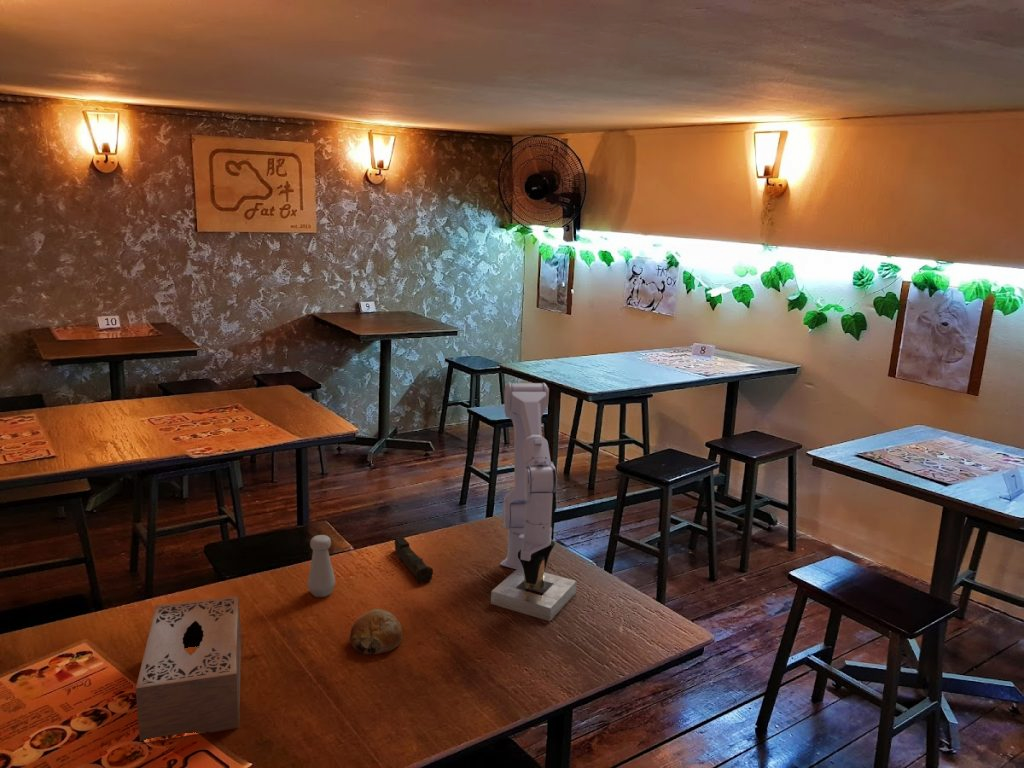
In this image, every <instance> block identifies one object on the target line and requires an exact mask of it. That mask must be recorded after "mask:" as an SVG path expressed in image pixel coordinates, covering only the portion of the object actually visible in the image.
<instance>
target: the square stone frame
mask: <svg viewBox="0 0 1024 768" xmlns="http://www.w3.org/2000/svg"><path fill="white" fill-rule="evenodd" d="M527 590H528V589H527V588H526V587H525V586H524V569H523V567H522V566H520V567H519V568H518V569H514V571H513V572H512V573H511V574H509V575H508V576H507V577H506V578H504V580H502V582H500V583H499V584H497V586H496V587H494V588H493V589H492V590H491V593H490V595H491V596H490V604H491V605H494V606H497V607H500V608H504V609H507V610H510V611H514V612H516V613H517V612H518V613H519V614H520V613H521V614H524V615H527V616H530V617H534V618H538V619H540V620H544V621H548V622H551V621H552V620H553V619H554V617H555V616H556V615H558V613H559V612H560V611H561V610H562V609H563V608H564V607H565V606H566V604H568V602H569V601H570V600H571V599H572V598H573V597H574V596H575V595H576V593H577V580H574V579H570V578H567V577H563V576H561V575H560V576H559V575H556V574H552V573H549V572H546V571H544V587H543V588H541V589H538V590H533V591H534V592H537V593H538V592H539V593H542V595H540V594H537V593H534V592H533V593H532V592H530V591H527ZM529 590H531V589H529ZM531 591H532V590H531Z"/></svg>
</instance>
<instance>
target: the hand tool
mask: <svg viewBox="0 0 1024 768" xmlns="http://www.w3.org/2000/svg"><path fill="white" fill-rule="evenodd" d="M394 549H395V554H396V556H397V558H398V560H399V561H402V562H403V563H404V565H405V566H406V567H407V568H408V570H409V571H410V573H412V574H413V575H414V576H415V578H416V580H415V581H416V583H417V584H425V583H428V582H430V581H432V579H433V574H434V570H433V567H431V566H428V565H427V564H426V563H425V562H424V560H423V557H422V558H421V557H419V556H418V555H417V554H416V553H415V551H413V549H412V547H410V543H409V542H408V541H407V540H406V539H405V538H404V537H403V536H400V535H399V536H396V537H395V538H394ZM424 582H425V583H424Z"/></svg>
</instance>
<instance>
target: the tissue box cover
mask: <svg viewBox="0 0 1024 768" xmlns="http://www.w3.org/2000/svg"><path fill="white" fill-rule="evenodd" d="M240 604H241V603H240V595H235V596H228V597H227V596H226V597H216V598H209V599H201V600H200V599H199V600H191V601H190V600H189V601H185V602H184V601H183V602H175V603H174V602H173V603H168V604H166V603H165V604H158V605H157V604H156V605H155V607H154V610H153V615H152V619H151V622H150V627H149V633H148V637H147V640H146V642H145V643H146V645H145V649H144V652H143V657H142V661H141V665H140V668H139V669H140V670H139V674H138V678H137V681H136V685H135V695H136V698H135V699H136V707H137V708H136V709H137V710H136V711H137V720H138V721H137V722H138V735H139V742H140V741H142V740H146V739H151V738H155V737H162V736H168V735H175V734H180V733H181V734H182V733H193V732H194V733H195V732H196V733H199V732H200V733H201V732H202V733H203V732H209V733H215V732H220V731H221V732H222V731H226V730H227V731H228V730H231V729H232V730H233V729H238V728H240V712H241V711H240V709H241V708H240V706H241V703H240V702H241V672H240V670H241V665H242V664H241V662H242V660H241V658H242V633H241V632H242V629H241V611H240V610H241V608H240ZM195 646H196V647H197V646H199V648H197V649H196V650H195V652H194V653H192V654H191V655H190V654H189V653H188V652H187V651H186V650H185V649H184V648H188V647H195Z"/></svg>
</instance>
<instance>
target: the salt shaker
mask: <svg viewBox="0 0 1024 768" xmlns="http://www.w3.org/2000/svg"><path fill="white" fill-rule="evenodd" d="M331 540H332V539H331V538H330V537H329V536H328V535H326V534H317V535H314V536H313V537H312V538H311V539H310V543H309V544H310V545H309V546H310V548H311V550H312V556H311V561H310V567H309V574H308V581H307V587H308V589H309V592H310V593H311V595H312V596H314V597H315V598H325V597H327V596H329V595H331V594H332V592H333V590H334V588H335V584H336V579H335V573H334V570H333V565H332V562H331V557H330V554H329V553H330V552H329V549H330V548H331V546H332V541H331Z"/></svg>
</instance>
